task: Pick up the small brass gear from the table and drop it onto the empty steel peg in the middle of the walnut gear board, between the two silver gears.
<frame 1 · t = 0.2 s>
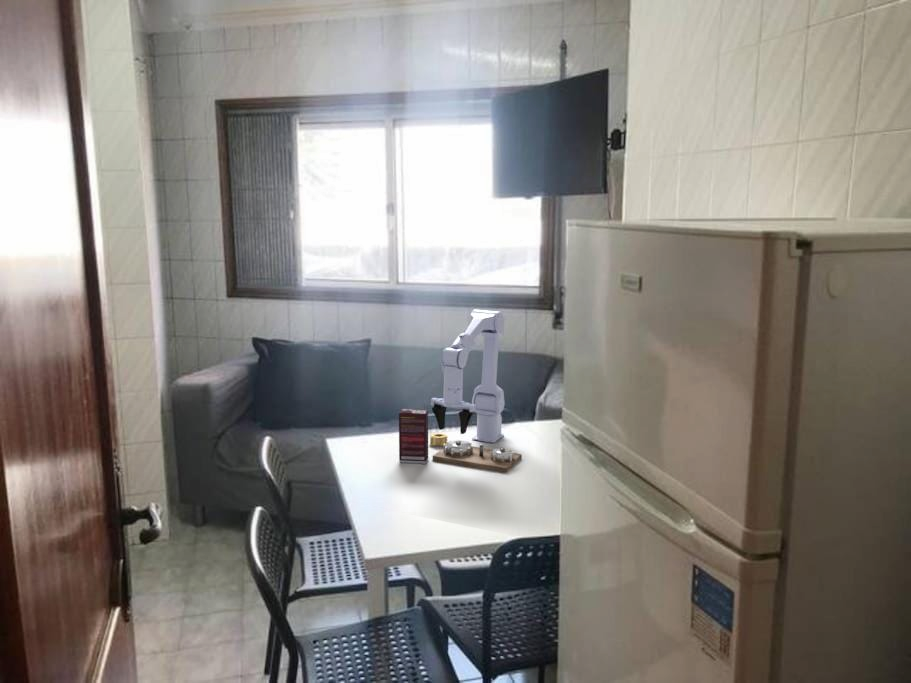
hand: (452, 431, 229), 10 cm above the table, tool pointing down, fingers open, 7 cm apart
gear board: (477, 459, 233), on the table
supplement box: (413, 461, 231), on the table
brass gear: (438, 444, 247), on the table
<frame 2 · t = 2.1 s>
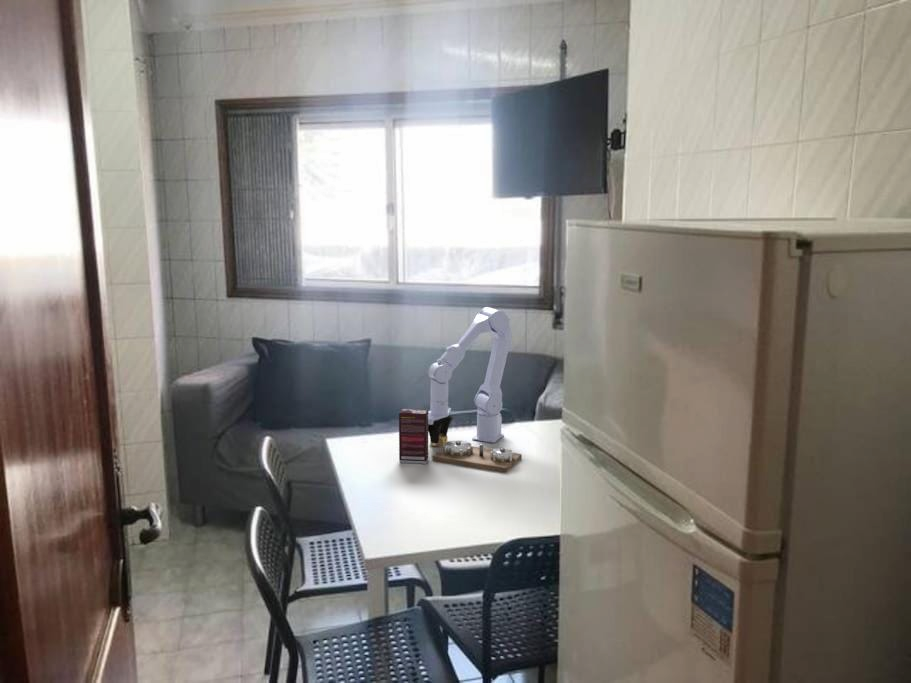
hand: (438, 440, 247), 1 cm above the table, tool pointing down, fingers closed on brass gear, 6 cm apart
brass gear: (438, 444, 247), on the table, touching gripper
everything else where it was.
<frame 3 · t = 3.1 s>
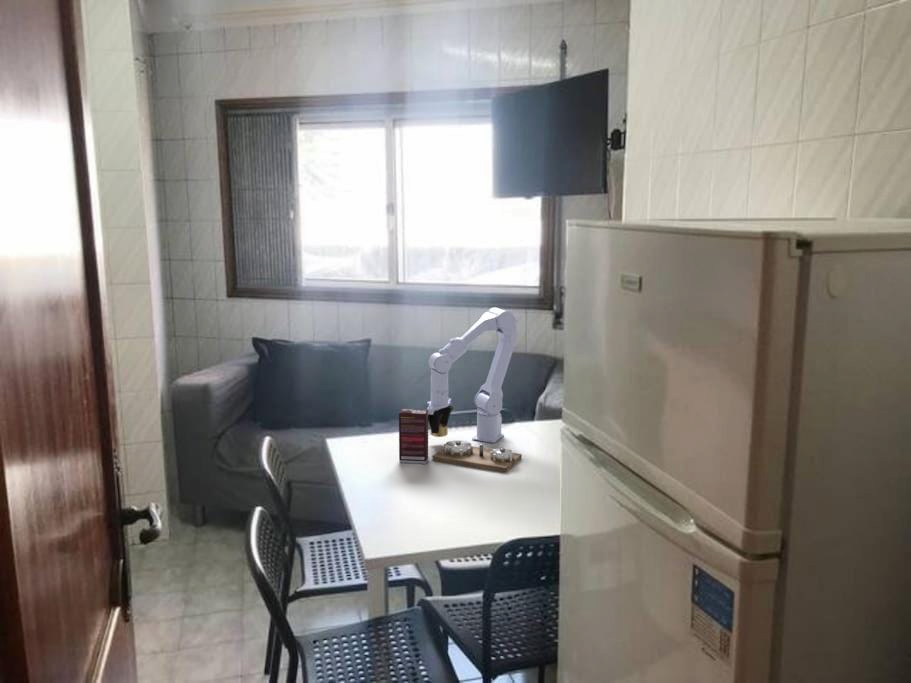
hand: (439, 430, 246), 5 cm above the table, tool pointing down, fingers closed on brass gear, 6 cm apart
brass gear: (439, 434, 247), point 3 cm above the table, touching gripper
everything else where it was.
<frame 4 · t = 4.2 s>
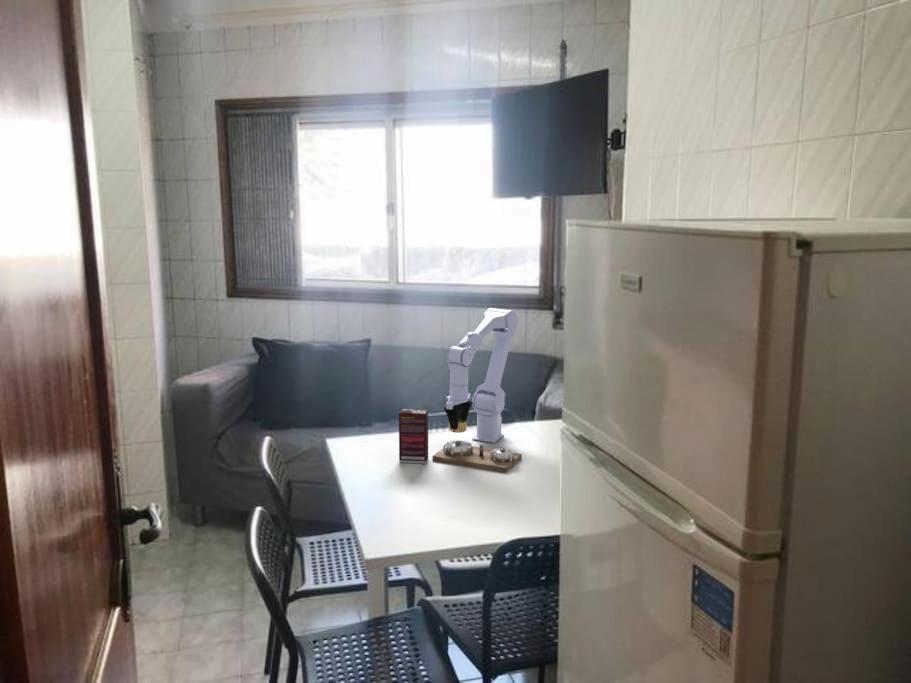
hand: (458, 426, 239), 8 cm above the table, tool pointing down, fingers closed on brass gear, 6 cm apart
brass gear: (457, 430, 239), point 7 cm above the table, touching gripper
everything else where it was.
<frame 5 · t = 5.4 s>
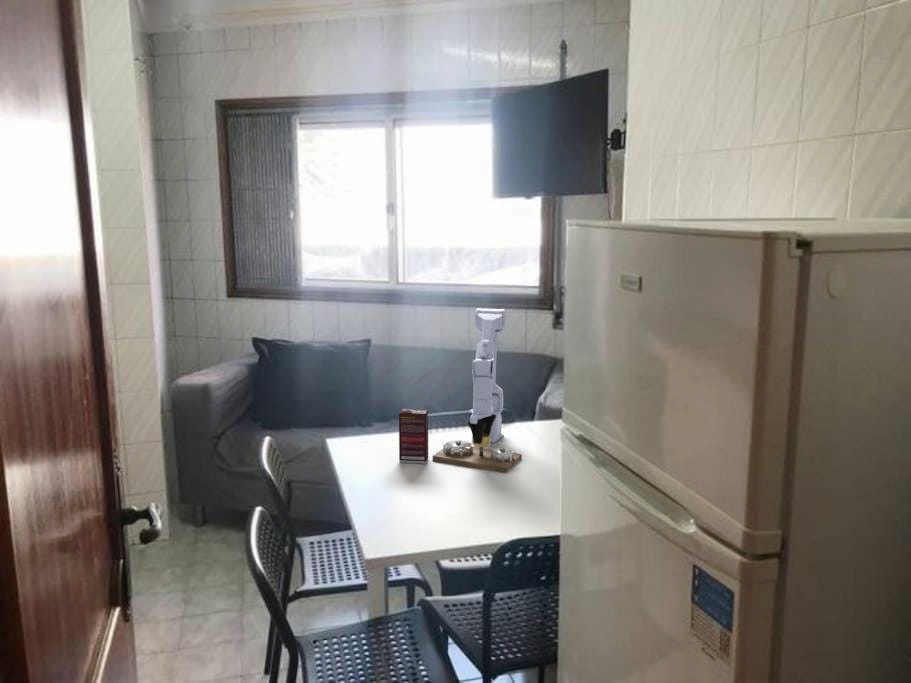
hand: (481, 440, 232), 6 cm above the table, tool pointing down, fingers closed on brass gear, 6 cm apart
brass gear: (481, 444, 232), point 5 cm above the table, touching gripper
everything else where it was.
when the fingers open (4 cm above the table, at t = 6.4 s): brass gear drops 1 cm, resting on gear board.
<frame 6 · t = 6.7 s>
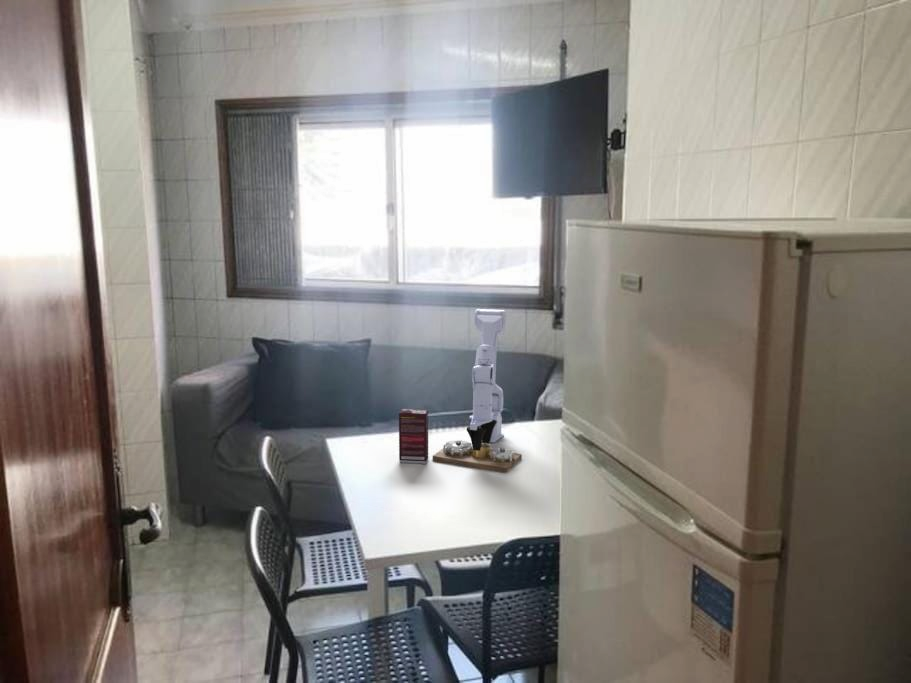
hand: (481, 446, 232), 4 cm above the table, tool pointing down, fingers open, 7 cm apart
brass gear: (480, 455, 232), point 1 cm above the table, touching gear board
everything else where it was.
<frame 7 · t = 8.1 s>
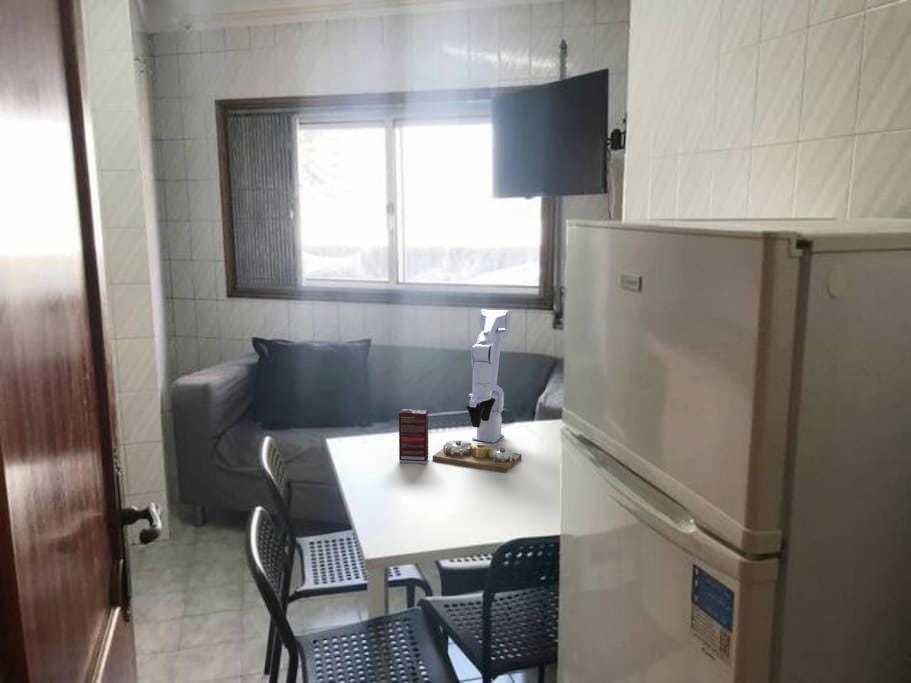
hand: (480, 423, 239), 9 cm above the table, tool pointing down, fingers open, 7 cm apart
nothing on the table moved.
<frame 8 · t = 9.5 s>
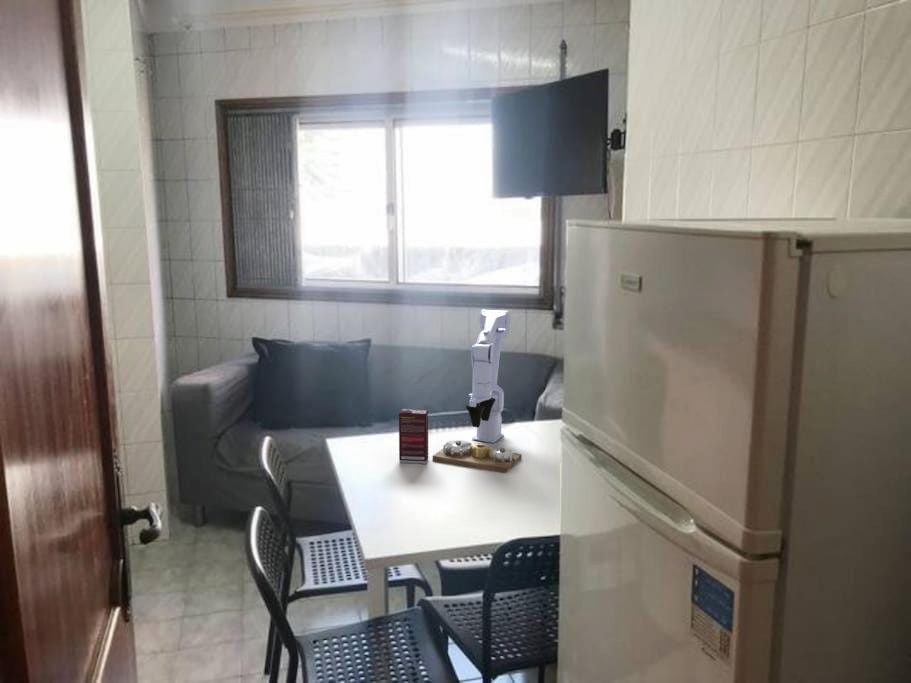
hand: (480, 423, 239), 9 cm above the table, tool pointing down, fingers open, 7 cm apart
nothing on the table moved.
at the end: brass gear 0.1 cm from the target spot on the gear board, point 1.5 cm above the gear board's base; the gripper is holding nothing; brass gear tilted 0° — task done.
